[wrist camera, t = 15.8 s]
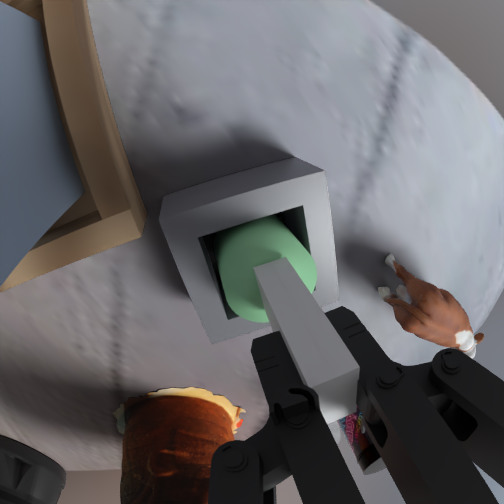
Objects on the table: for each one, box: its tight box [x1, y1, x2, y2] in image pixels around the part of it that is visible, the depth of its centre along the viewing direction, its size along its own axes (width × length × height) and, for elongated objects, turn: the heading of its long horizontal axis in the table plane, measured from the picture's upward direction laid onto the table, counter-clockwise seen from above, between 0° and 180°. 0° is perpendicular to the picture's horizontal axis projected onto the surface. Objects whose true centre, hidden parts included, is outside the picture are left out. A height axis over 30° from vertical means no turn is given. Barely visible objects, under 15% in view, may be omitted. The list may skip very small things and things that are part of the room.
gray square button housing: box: [159, 157, 339, 344], centre depth 17 cm, size 8×8×4 cm
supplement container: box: [337, 406, 387, 475], centre depth 25 cm, size 7×7×10 cm
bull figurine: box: [378, 254, 484, 358], centre depth 21 cm, size 4×13×8 cm, turn 53°
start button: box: [214, 214, 317, 323], centre depth 16 cm, size 4×4×4 cm
